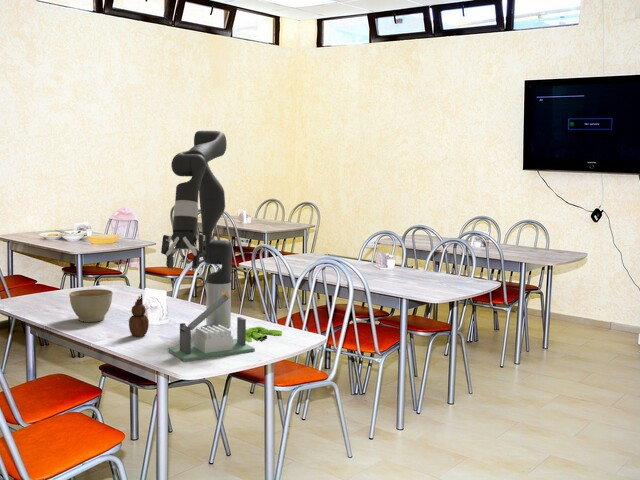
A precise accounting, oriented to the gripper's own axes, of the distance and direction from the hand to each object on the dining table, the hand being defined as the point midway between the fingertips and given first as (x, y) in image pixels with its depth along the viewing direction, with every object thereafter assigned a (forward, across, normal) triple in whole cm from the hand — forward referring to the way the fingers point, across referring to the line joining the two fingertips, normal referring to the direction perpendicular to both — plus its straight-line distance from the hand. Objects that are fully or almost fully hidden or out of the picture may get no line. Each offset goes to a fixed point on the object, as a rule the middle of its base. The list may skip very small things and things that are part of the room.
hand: (182, 268), depth 218 cm
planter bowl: (+15, +64, -45) cm, 79 cm away
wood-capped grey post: (+13, +1, -20) cm, 24 cm away
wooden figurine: (+21, +34, -32) cm, 51 cm away
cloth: (+20, -7, -50) cm, 54 cm away
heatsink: (+25, +1, -24) cm, 35 cm away
